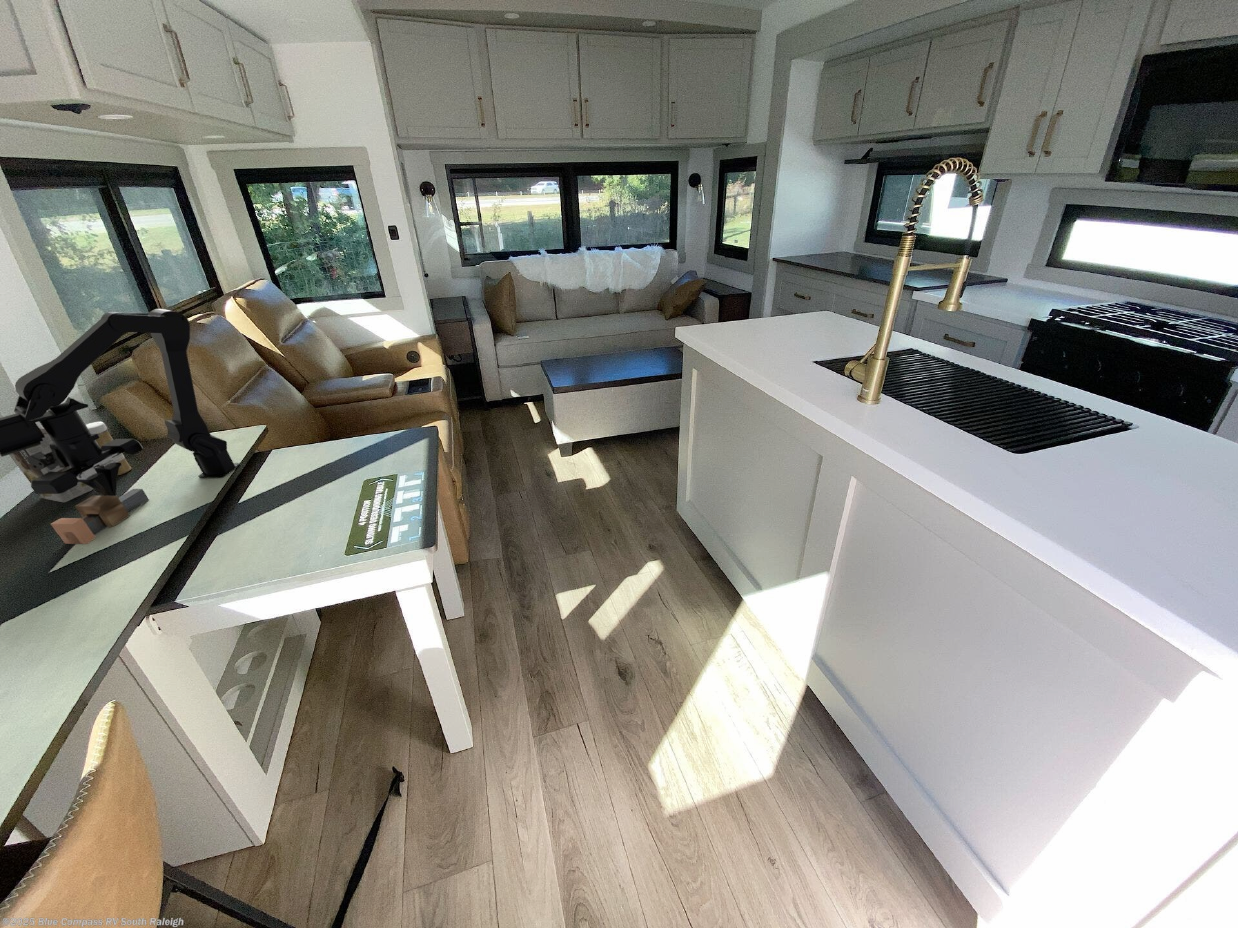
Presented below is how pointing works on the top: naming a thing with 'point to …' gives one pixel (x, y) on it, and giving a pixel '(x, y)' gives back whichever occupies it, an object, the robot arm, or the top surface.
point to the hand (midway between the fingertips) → (112, 498)
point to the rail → (129, 502)
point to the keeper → (103, 509)
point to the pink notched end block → (73, 530)
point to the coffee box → (46, 470)
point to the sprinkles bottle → (105, 438)
